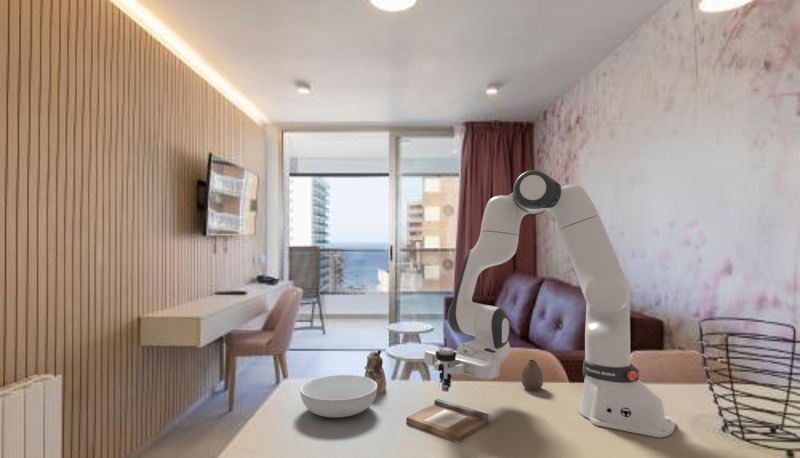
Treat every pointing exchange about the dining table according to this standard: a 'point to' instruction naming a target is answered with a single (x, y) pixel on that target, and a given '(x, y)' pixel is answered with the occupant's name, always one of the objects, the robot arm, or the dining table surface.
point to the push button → (445, 366)
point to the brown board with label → (449, 420)
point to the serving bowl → (338, 395)
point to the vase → (532, 376)
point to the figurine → (376, 371)
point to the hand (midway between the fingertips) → (442, 369)
